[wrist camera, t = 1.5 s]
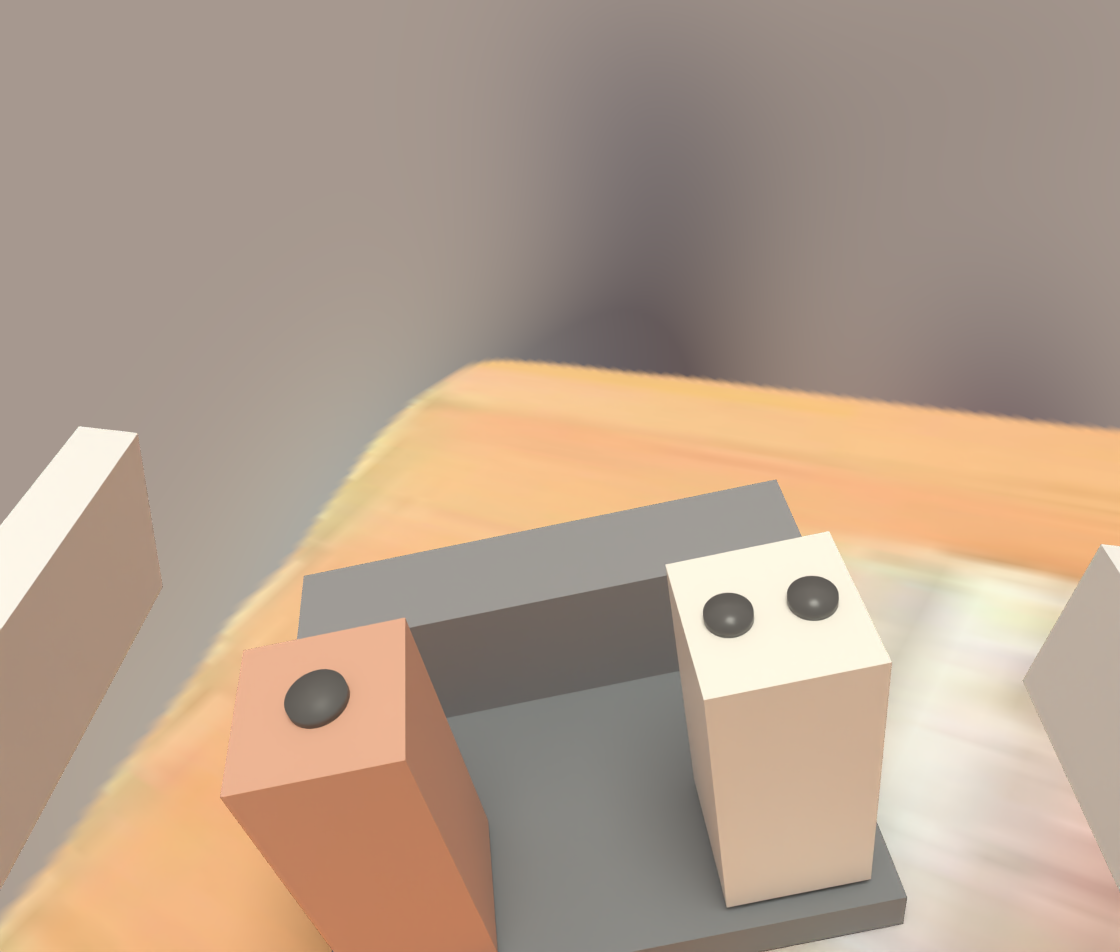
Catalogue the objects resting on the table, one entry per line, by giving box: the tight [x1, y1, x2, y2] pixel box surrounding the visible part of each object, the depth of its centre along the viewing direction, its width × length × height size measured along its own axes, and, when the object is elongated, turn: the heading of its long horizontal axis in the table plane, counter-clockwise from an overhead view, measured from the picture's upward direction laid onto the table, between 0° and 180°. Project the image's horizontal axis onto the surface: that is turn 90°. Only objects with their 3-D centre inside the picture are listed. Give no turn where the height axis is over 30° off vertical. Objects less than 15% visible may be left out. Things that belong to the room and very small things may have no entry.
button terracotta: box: [220, 618, 498, 952], centre depth 32 cm, size 5×5×12 cm
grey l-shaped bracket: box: [297, 480, 907, 952], centre depth 38 cm, size 15×20×8 cm
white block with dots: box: [665, 531, 892, 908], centre depth 31 cm, size 5×5×12 cm
